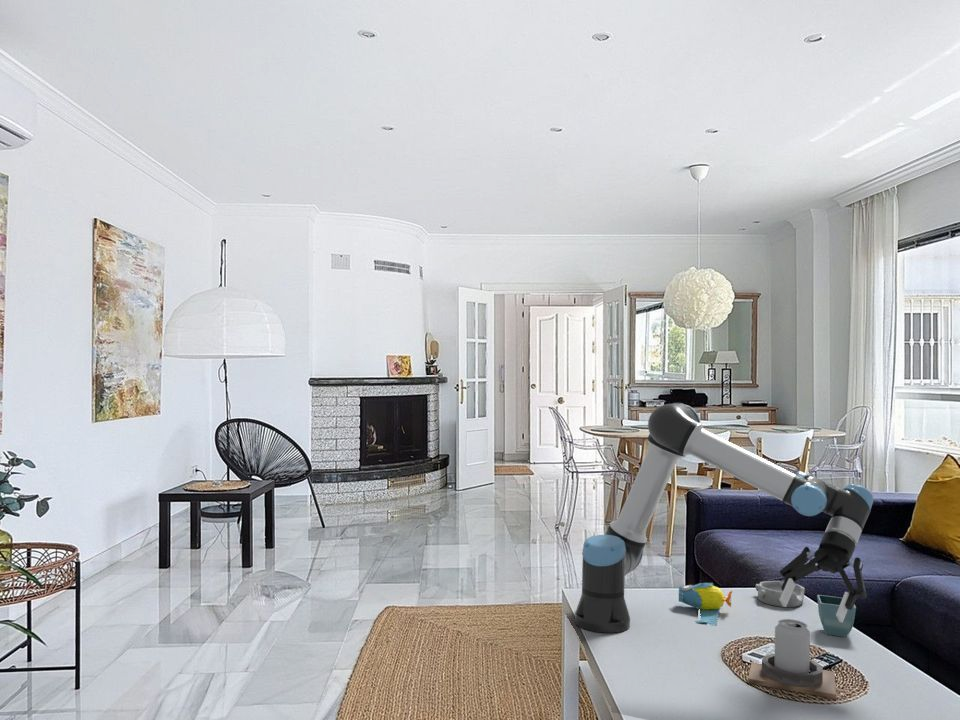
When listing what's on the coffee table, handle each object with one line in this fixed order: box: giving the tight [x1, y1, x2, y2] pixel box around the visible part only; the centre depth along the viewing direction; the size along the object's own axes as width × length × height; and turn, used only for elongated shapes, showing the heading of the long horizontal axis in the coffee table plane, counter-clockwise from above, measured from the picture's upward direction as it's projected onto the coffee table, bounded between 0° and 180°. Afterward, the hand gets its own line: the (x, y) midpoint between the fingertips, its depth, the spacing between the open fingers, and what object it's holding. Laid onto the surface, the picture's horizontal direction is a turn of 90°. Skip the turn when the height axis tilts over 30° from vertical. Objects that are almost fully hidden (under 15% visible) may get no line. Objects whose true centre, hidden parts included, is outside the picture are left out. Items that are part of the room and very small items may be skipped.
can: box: [774, 618, 811, 673], centre depth 171 cm, size 8×8×12 cm
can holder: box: [747, 653, 837, 700], centre depth 171 cm, size 18×14×4 cm
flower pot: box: [816, 594, 857, 638], centre depth 203 cm, size 9×9×9 cm
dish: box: [755, 580, 806, 608], centre depth 232 cm, size 14×14×5 cm
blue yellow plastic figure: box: [678, 582, 733, 627], centre depth 221 cm, size 28×9×15 cm
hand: (809, 611), depth 175 cm, fingers open, 13 cm apart
